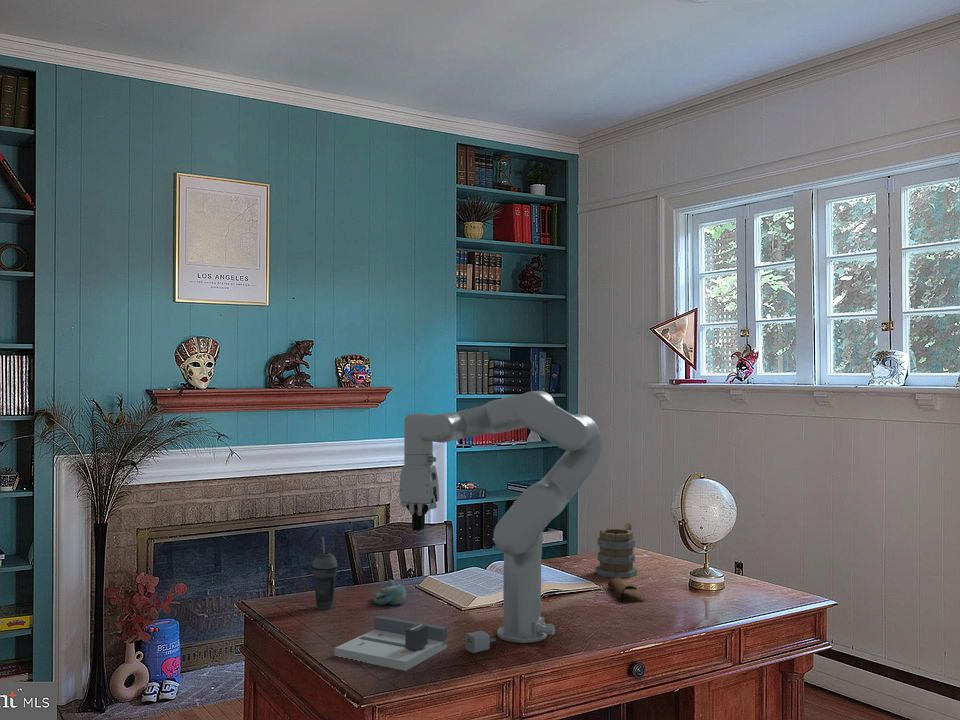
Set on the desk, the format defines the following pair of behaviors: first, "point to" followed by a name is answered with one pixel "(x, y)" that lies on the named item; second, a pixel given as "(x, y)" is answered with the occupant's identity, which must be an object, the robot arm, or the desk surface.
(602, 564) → the tankard
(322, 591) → the beverage cup
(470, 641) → the usb wall charger
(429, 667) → the desk surface
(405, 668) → the console
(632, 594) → the sunglasses case
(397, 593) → the stuffed animal
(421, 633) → the fader knob
